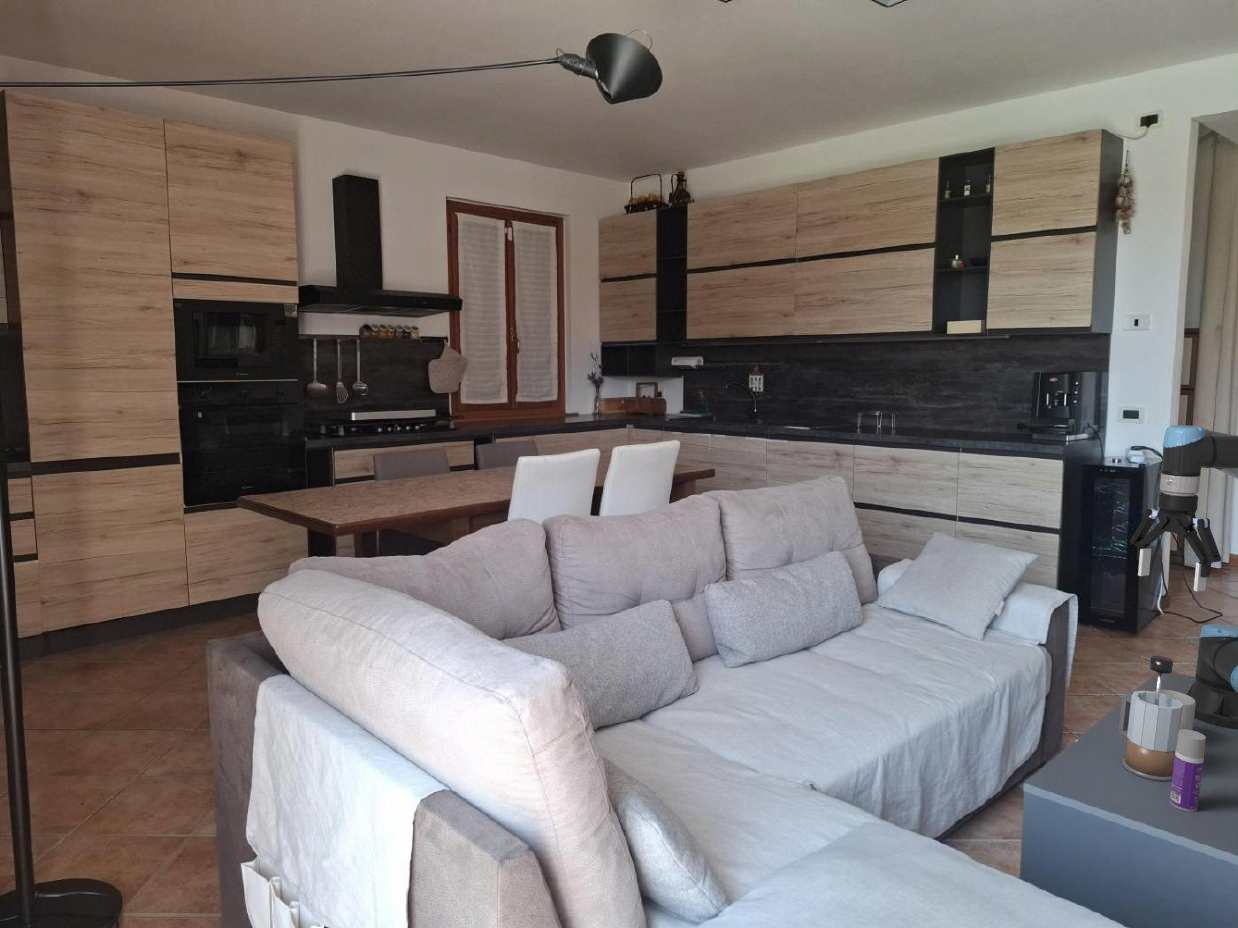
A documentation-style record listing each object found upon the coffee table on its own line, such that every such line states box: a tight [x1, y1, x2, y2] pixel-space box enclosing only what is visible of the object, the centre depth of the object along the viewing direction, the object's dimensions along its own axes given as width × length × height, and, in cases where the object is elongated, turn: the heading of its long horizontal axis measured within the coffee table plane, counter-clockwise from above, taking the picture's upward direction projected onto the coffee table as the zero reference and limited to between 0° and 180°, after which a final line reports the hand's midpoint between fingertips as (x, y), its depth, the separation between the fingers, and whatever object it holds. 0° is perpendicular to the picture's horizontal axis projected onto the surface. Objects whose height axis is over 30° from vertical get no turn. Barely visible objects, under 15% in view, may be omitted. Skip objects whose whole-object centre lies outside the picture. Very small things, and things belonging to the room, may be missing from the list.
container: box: [1169, 729, 1207, 813], centre depth 165 cm, size 5×5×15 cm
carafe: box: [1118, 690, 1183, 783], centre depth 180 cm, size 10×12×16 cm
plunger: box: [1149, 655, 1174, 706], centre depth 178 cm, size 6×6×18 cm
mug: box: [1152, 689, 1196, 731], centre depth 194 cm, size 12×8×11 cm
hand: (1170, 582), depth 195 cm, fingers open, 13 cm apart
